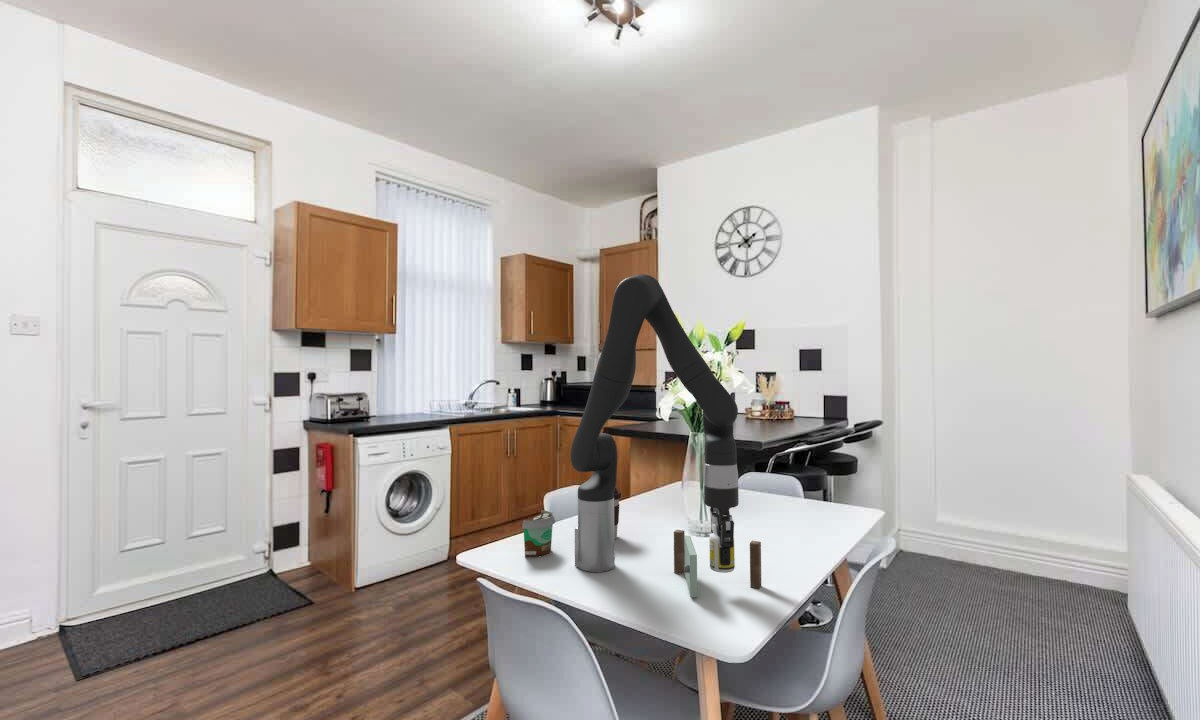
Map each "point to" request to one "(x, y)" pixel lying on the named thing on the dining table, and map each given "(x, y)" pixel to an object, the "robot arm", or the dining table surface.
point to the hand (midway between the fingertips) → (722, 559)
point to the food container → (538, 534)
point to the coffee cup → (616, 510)
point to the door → (690, 566)
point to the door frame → (754, 558)
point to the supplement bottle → (715, 554)
